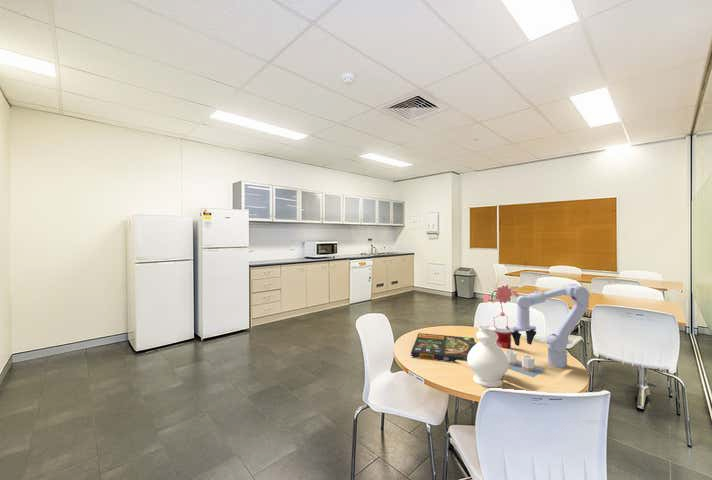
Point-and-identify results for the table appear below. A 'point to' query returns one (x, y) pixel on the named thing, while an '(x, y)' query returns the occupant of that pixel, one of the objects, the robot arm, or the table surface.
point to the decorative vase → (487, 358)
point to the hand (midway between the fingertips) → (523, 344)
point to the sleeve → (527, 363)
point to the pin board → (529, 373)
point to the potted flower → (501, 299)
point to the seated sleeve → (511, 357)
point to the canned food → (503, 338)
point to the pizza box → (442, 347)
